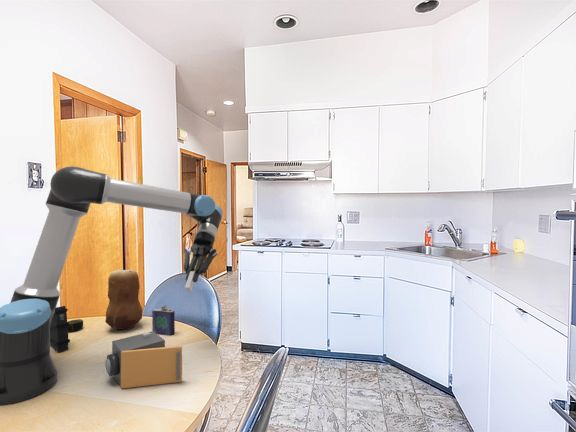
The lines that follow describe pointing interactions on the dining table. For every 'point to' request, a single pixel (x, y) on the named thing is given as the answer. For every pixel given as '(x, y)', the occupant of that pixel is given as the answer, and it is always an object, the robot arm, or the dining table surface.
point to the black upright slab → (59, 330)
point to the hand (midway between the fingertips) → (188, 289)
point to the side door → (151, 366)
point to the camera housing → (130, 343)
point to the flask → (163, 321)
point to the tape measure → (75, 325)
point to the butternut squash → (123, 300)
